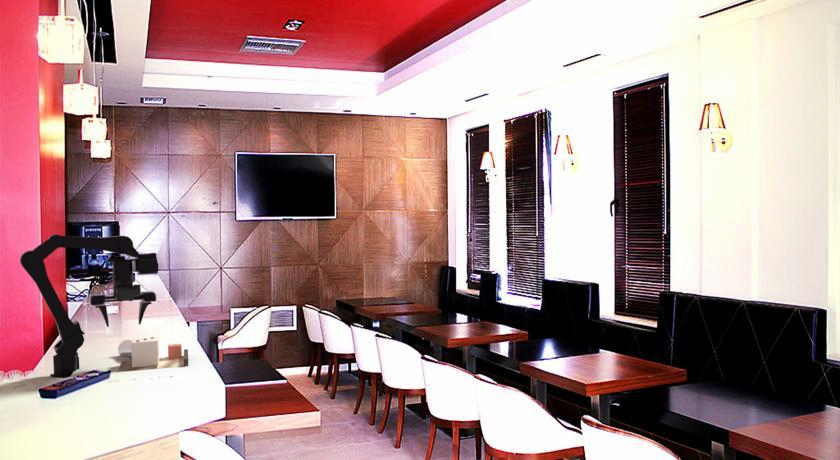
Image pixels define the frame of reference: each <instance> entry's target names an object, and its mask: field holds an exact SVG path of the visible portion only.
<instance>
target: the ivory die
mask: <svg viewBox="0 0 840 460" xmlns="http://www.w3.org/2000/svg"><path fill="white" fill-rule="evenodd" d="M159 340H160V339H159V336H155V337H154V336H151V337H142V338H141V337H139V338H132V340H131V341H132V342H131V349H132V358H131V360H132V367H143V366H155V365H159V358H160V345H159Z"/></svg>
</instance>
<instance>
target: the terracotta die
mask: <svg viewBox="0 0 840 460" xmlns="http://www.w3.org/2000/svg"><path fill="white" fill-rule="evenodd" d="M167 345H168V346H167V351H168V352H167V355H168V356H167V357H168V359H177V358H182V356H183V355H182V353H183V352H182V343H175V344H173V343H171V344H167Z"/></svg>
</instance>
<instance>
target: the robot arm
mask: <svg viewBox="0 0 840 460" xmlns="http://www.w3.org/2000/svg"><path fill="white" fill-rule="evenodd" d="M60 248H66V249H85V250H101V251H105V252H109V253H110V254H109V256H108V257H107V258H106V259H105V262H108V263H111V262H112V289H113V290H112V295H107V296H105V294H103V293H99V294H97V293H96V294H91V295H90V296H89V304H90V306H94V307H95V308H96V309H97V308H98V309H99V311H100V313H101V314H102V316H103V317H102V318H103V319H104V322H105V325H106V327H107V328H109V326H110V324H109V322H110V321H109V316H108V310H107V305H106V303H112V302H113V303H115V302H118V303H122V302H133V301H139V306H138V318H137V319H138V325H142V321H143V317H144V314H145V312H146V309H147V307H148V306H149V305H152V303H153V302H156V301H157V294H156V293H155V292H154V291H153V290H151V291H150V290H149V291H142V290H141V284H134V280H133V278H134V274H133V272H134V273H137V275H138V276H144V275H158V274H159V262H158V257H157V253H156V252H150V253H139V251H138V250H137V249H136V248H135V247H134V242H133V240H132V239H131V238H130V236H126V235H115V236H114V235H113V236H107V237H105V236H104V237H103V236H102V237H93V236H92V237H90V236H78V235H77V236H75V235H60V234H57V233H55V234H52V235H50V236H49V237H48V238H47V239H46V240H44V241H43V242H42V243H41V244H39V245H37V246H36V247H35V248H34V249H32V250H30V249H29V250H26V251H23V252H22V254H21V255H20V257H19V262H20V265H21V267H22V268H23V269H24V270H25V272H26V273H27V274H28V275H29V276H30V278H31V279H32V280H33V282H34V283H35V285H36V286H37V288H38V291H39V292H40V294H41V296H42V299H43V300H44V302H45V304H46V306H47V307H48V309H49V312H50V313H51V315H52V317H53V320H55V321H54V322H55V324H56V327H57V331H58V334H59V338H60V340H59V341H58V342H56V343H55V344H54V345H53V350H54V352H55V355H53V357H52V360H53V373H51V374H49V376H50V377H59V378H67V377H72V375H73V374H74V372H76V371H77V370H80V357H79V352H78V350H79V349H80V348H81V347H83V344H84V342H85V337H84V335H85V334H86V333H85V332H84V331H83V330H82V327H81V324H80V322H79V321H78V320H77V319H75V320H74V321H72V320H71V318H70V316H69V315H68V313H67V311H66V309H65V307H64V305H63V303H62V301H61V300H60V297H59V296H58V294H57V292H56V290H55V288H54V286H53V285H52V282H51V280H50V278H49V276H48V271H47V268H46V265H45V261H44V260H45V259H48V257H49V256H50V255H51V254H53V253H54V252H55V251H56V250H58V249H60ZM114 254H119V255H118V256H117V255H114ZM125 255H126V256H127V257H131V258H126V256H125Z"/></svg>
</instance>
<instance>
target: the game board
mask: <svg viewBox="0 0 840 460" xmlns="http://www.w3.org/2000/svg"><path fill="white" fill-rule="evenodd" d="M181 367H189V349H185V348H184V349H183V355H182V358H177V359H168V356H166V357H165V356H163V357H159V365H155V366H143V367H132V359H130V360H129V359H127V360H121V363H120V365H119V368H118V369H117V373H124V372H134V371H135V372H136V371H145V370H147V371H148V370H158V369H159V370H160V369H168V368H169V369H170V368H181Z"/></svg>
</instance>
